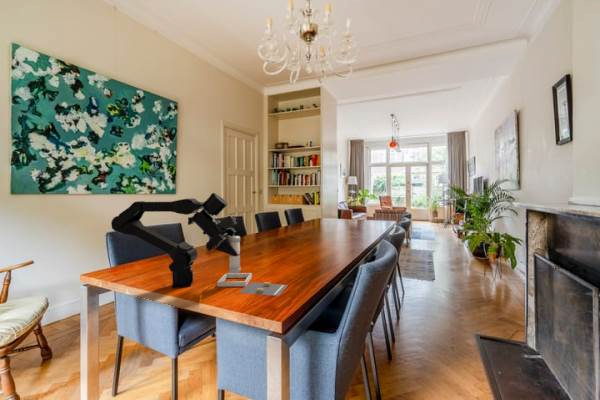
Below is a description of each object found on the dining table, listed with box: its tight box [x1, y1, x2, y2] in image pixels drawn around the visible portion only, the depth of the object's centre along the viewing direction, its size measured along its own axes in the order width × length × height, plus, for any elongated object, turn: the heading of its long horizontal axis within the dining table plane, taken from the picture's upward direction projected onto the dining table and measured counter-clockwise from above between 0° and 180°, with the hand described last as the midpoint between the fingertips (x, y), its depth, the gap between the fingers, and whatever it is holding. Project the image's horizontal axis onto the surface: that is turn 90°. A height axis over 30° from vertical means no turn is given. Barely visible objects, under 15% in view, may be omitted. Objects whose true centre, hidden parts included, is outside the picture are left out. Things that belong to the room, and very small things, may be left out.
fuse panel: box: [238, 281, 288, 297], centre depth 93 cm, size 14×10×2 cm
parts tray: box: [216, 272, 253, 287], centre depth 101 cm, size 10×10×2 cm
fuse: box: [228, 235, 242, 273], centre depth 101 cm, size 4×4×13 cm
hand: (238, 254), depth 101 cm, fingers closed on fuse, 4 cm apart
